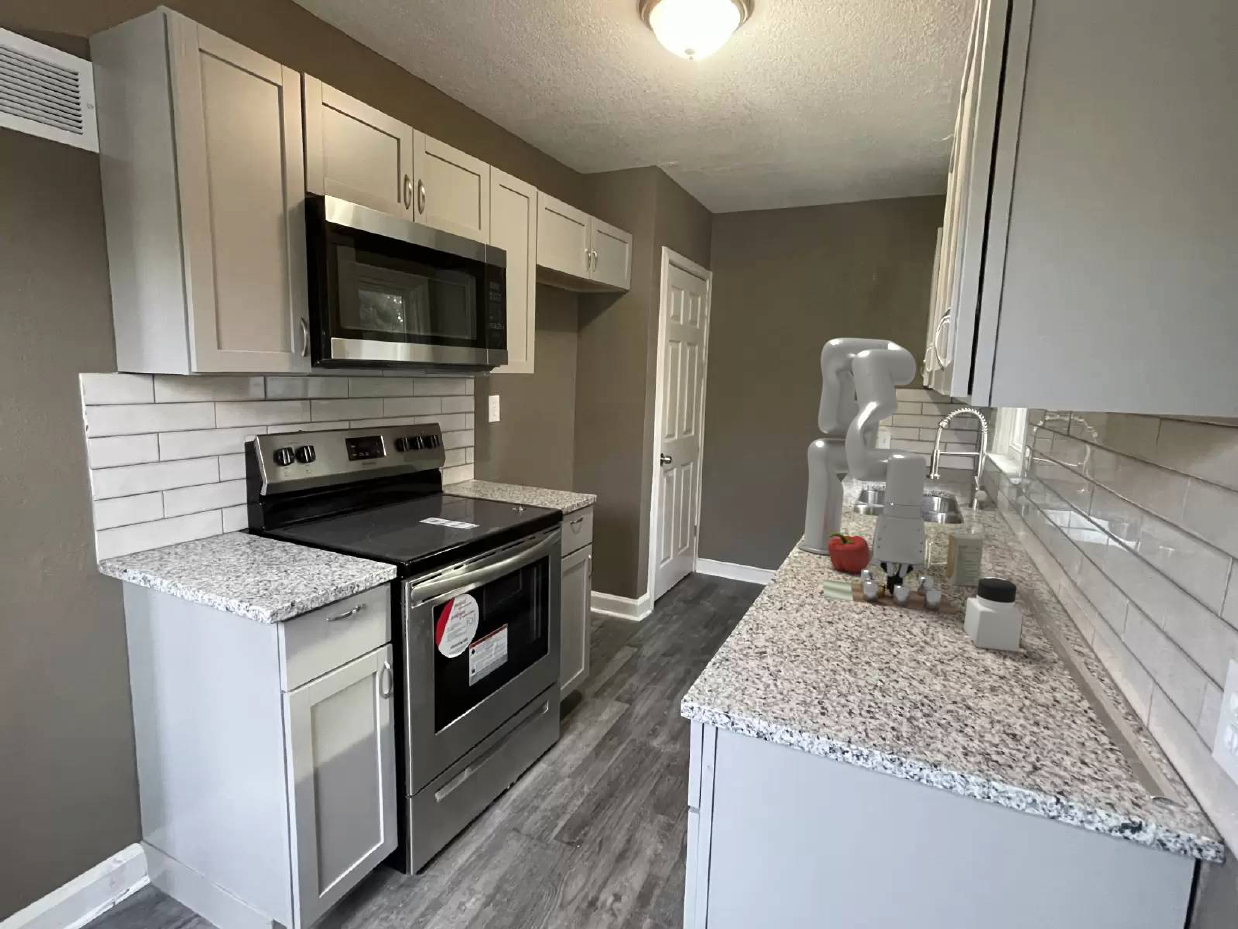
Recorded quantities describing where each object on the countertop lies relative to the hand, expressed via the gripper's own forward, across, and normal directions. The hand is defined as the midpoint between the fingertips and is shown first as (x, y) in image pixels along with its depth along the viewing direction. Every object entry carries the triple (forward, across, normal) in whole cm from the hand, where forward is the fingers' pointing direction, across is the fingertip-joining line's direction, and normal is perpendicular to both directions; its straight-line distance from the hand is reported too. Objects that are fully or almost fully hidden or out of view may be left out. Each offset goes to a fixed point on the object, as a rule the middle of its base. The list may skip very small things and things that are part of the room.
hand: (893, 592), depth 137 cm
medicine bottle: (+2, -15, +18) cm, 23 cm away
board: (+2, +2, 0) cm, 3 cm away
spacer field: (+1, -1, 0) cm, 1 cm away
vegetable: (+2, +9, -19) cm, 21 cm away
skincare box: (+2, -17, -18) cm, 25 cm away
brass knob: (+1, +4, 0) cm, 4 cm away
